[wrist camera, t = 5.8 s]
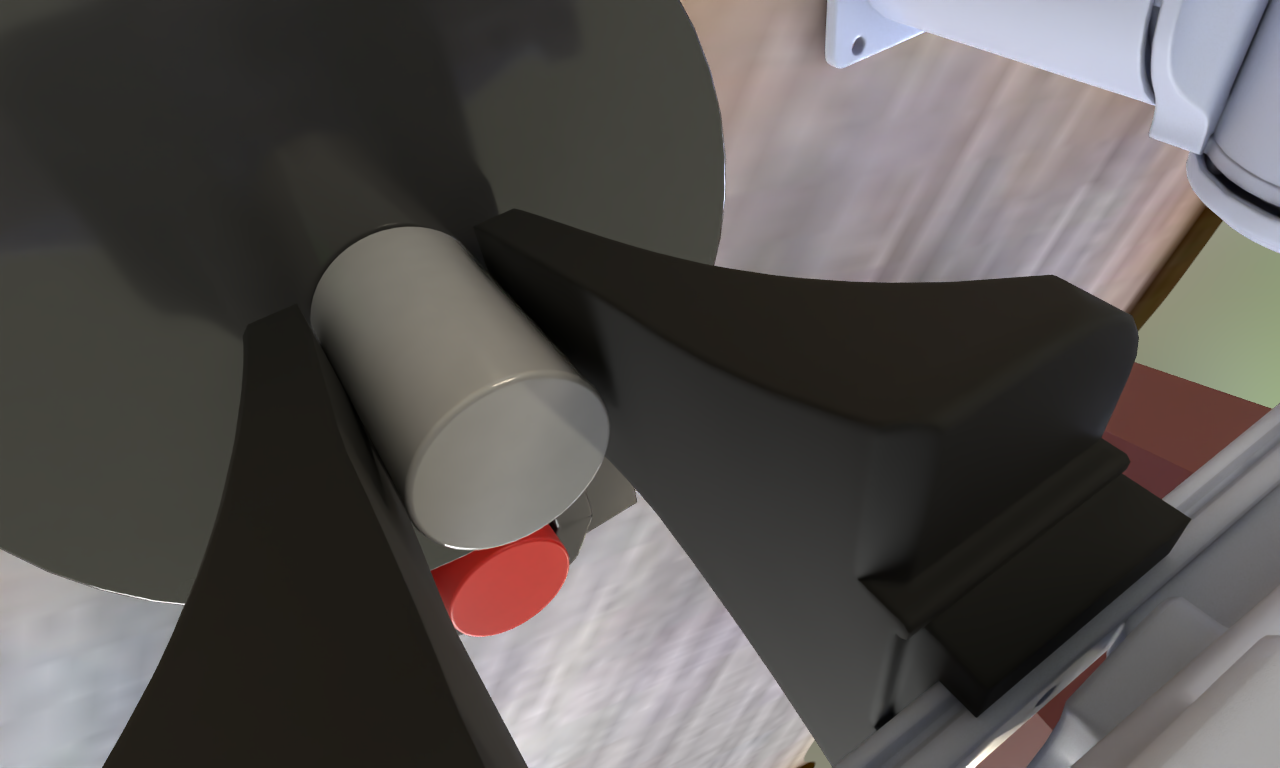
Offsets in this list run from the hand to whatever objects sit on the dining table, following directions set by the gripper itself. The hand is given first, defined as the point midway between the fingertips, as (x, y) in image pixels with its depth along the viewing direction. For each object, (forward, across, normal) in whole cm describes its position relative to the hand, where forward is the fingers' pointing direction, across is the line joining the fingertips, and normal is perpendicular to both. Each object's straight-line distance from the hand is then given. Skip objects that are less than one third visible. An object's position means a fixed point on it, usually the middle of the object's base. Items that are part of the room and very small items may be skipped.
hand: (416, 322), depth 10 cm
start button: (+5, 0, +12) cm, 13 cm away
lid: (+1, 0, 0) cm, 1 cm away
